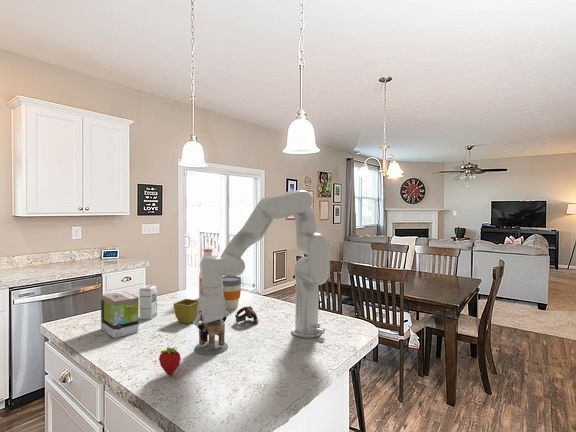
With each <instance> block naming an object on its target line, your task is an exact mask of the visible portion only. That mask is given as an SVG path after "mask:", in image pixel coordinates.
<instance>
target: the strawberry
mask: <svg viewBox="0 0 576 432" xmlns="http://www.w3.org/2000/svg"><path fill="white" fill-rule="evenodd" d="M166 345H167V347H166V349H164V350H160V352H159V357H158V361H159V363H160V364H159V365H160V367H161V368H162V369H163V371H164V372H165V373H166V374H167V375H168V376H169V377H171V376H172V375H174V373H175V371H177V369H178V368H179V366H180V363H181V360H182V359H181V358H182V357H181V354H180V353H179V351H178V349H177V346H174V347H171V346H170V345H169V344H166Z"/></svg>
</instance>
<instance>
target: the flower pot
mask: <svg viewBox="0 0 576 432" xmlns="http://www.w3.org/2000/svg"><path fill="white" fill-rule="evenodd" d="M198 300H199V299H197V300H196V299H191V298H184V299H181V300H179V301H176V302H174V303H173V310H174V316H175V318H176V319H177V321H178V322H179V323H183V324H190V323H193V322H194V320H195V319H196V317H197V306H198Z"/></svg>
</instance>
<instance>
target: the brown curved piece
mask: <svg viewBox="0 0 576 432" xmlns="http://www.w3.org/2000/svg"><path fill="white" fill-rule="evenodd" d="M241 313H243V314H241ZM234 317H235V323H237V324H238V323H240V322H246V319H253V321H254V322H255V324H256V325H258V324H259V319H258V315H257V313H256V312H255V310H254V309H253V307H252V306H244V307H242V308H239V310H237V311H236V313H235V315H234Z"/></svg>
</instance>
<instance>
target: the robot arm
mask: <svg viewBox="0 0 576 432" xmlns="http://www.w3.org/2000/svg"><path fill="white" fill-rule="evenodd" d="M313 203H314V199H313V196H312V195H311V193H310V192H309V191H307V190H304V189H302V190H301V189H299V190H288V191H286V192H284V193H283V194H282V195H275V196H265V197H263V198H261V199H260V200H259V201H258V203H257V205H256V206H255V207H254V209H253V211H252V212H251V214H249V215H250V216H249V217H248V218H247V220H246V222H245V224H244V225H243V227H242V228H241V229H240V230H239V231H238V232H236V234H235V235H234V236H233V238H232V239H231V240H230V241H229V243H228V244H227V245H226V247H225V249H223V251H222V254H221V255H220V256H218V255H213V256H207V257H204V258H203V257H202V258H203V259H201V261H202V294H200V296H199V295H198V299H197V300H198V306H197V317H196V319H195V320H194V321H193V322H192V325H194V326H196V328H198V331H199V330H201V340H202V341H204V342H207V341H209V335H208V331H206V329H207V326H208V323H210V322H213V321H219V322H222V323H225V322H226V320H227V318H228V316H229V315H230V312H229V310H226V309H225V298H224V293H223V292H222V288H224V285H222V284H223V276H237V277H239V276H241V275H242V274H243V272H244V271H245V269H246V264H245V261H244V260H243V259H242V257H243V255H244V254H245V252H246V251H247V249H249V248H250V247H251V246H253V245H254V244H256V243H257V242H259V241H261V240H262V239H263V237H264V235H266V232H267V231H268V229H269V228H270V226H271V225H272V222H273V221H274V220H278V219H279V220H280V219H284V218H285V219H286V218H288V217H293V218H294V221H295V237H296V240H295V241H296V242H295V243H296V249H297V251H298V252H299V253H301V254H303V255H306V256H302V257H301V258H299V259H298V260H297V261H296V262H295V265H294V268H293V269H294V270H293V271H294V273H293V274H294V279H295V315H294V316H295V323H294V324H295V325H294V326H292V327H291V333H292V334H293V336H296V337H299V338H304V339H305V338H306V339H309V338H310V339H311V338H316V337H319V336H320V335H325V331H326V327H321V322H319V286H320V285H324V284H325V283H326V282H327V281H328V279H329V277H330V274H331V261H330V259H331V258H330V256H331V255H330V244H329V240H328V239H327V237H326V236H325V235H323V234H322V233H318V231H317V220H316V215H315V212H314V209H313V208H312V206H313ZM200 323H201V324H200ZM203 326H204V327H203ZM216 336H218V337H219V334H217V335H216Z"/></svg>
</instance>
